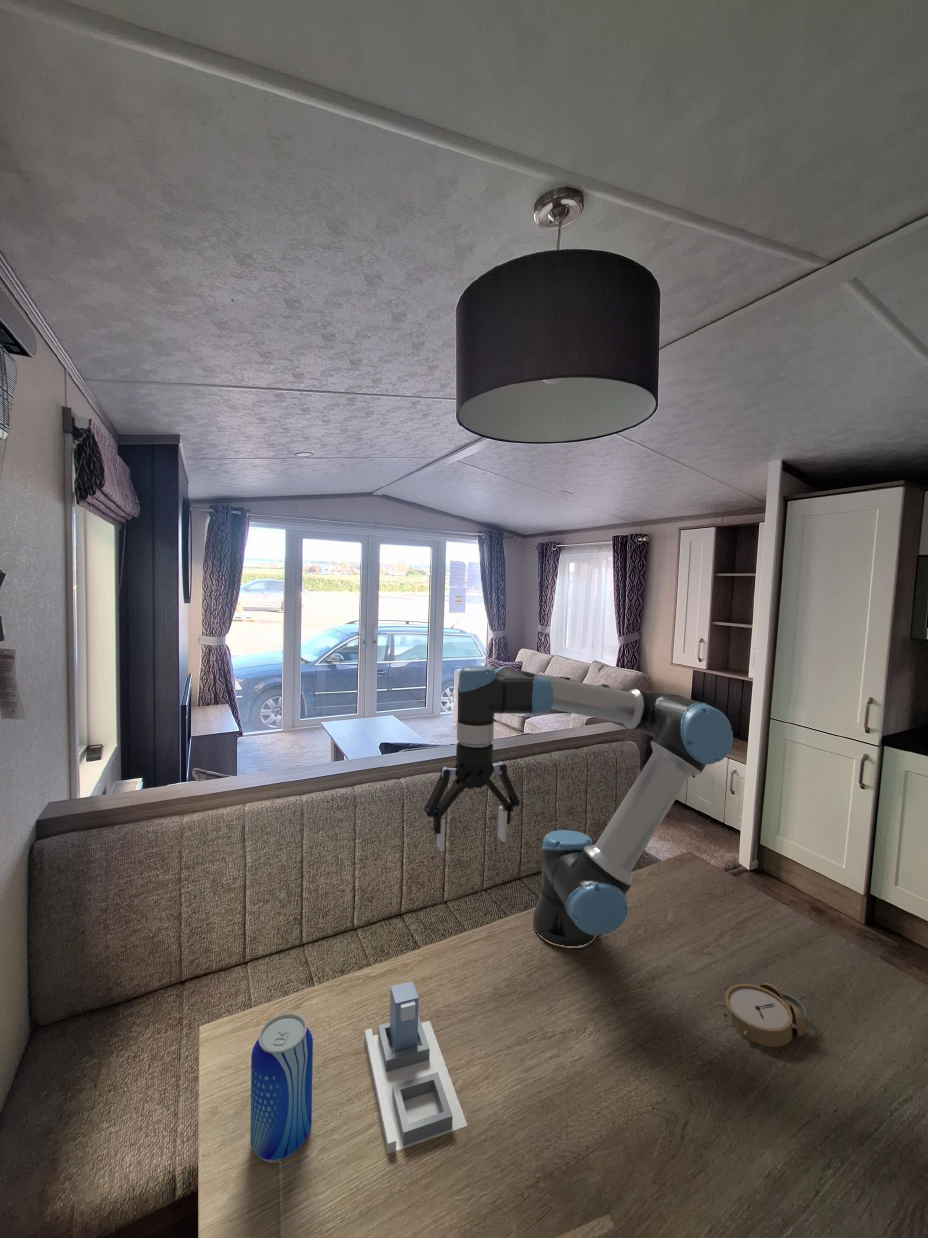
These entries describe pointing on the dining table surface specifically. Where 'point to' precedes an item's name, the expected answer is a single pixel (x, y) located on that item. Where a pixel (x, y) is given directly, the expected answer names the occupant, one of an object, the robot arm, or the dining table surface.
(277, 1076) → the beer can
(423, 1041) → the panel
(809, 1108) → the dining table surface
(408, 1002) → the plug
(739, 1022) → the alarm clock
